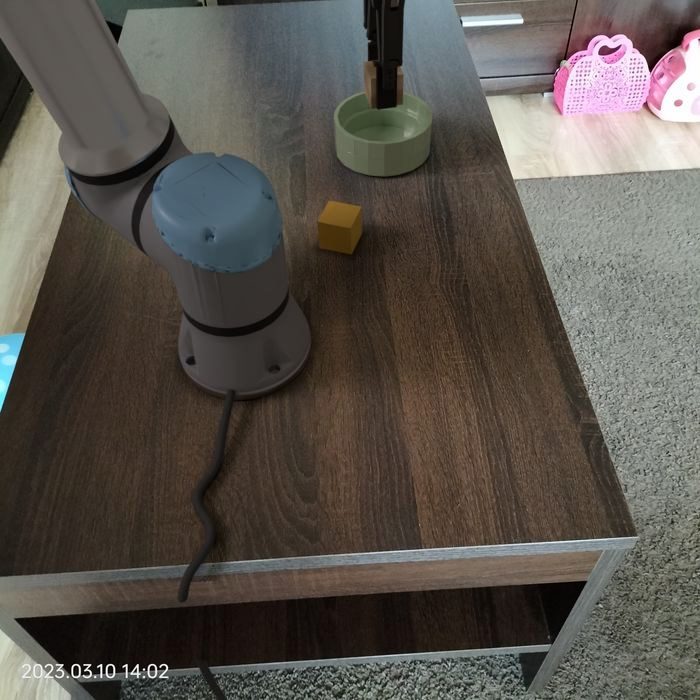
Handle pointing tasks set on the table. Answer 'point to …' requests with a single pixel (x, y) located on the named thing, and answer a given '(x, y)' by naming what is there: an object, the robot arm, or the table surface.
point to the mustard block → (340, 227)
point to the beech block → (371, 84)
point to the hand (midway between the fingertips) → (382, 96)
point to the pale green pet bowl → (382, 135)
